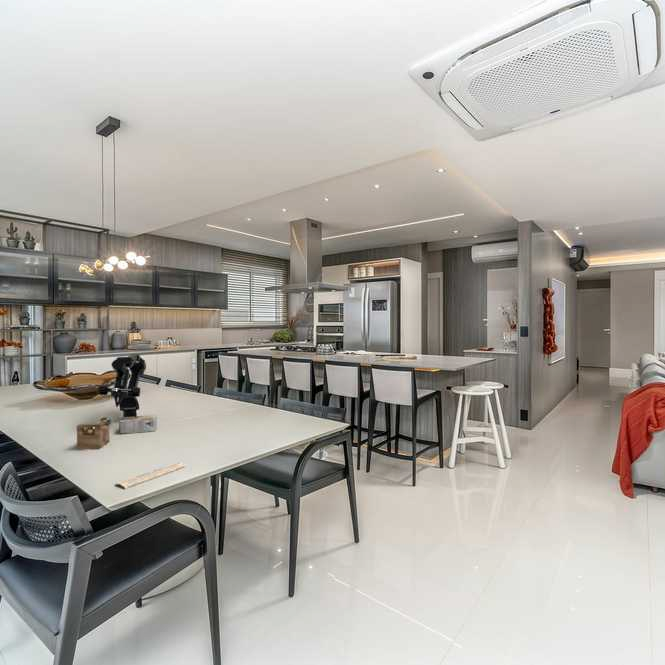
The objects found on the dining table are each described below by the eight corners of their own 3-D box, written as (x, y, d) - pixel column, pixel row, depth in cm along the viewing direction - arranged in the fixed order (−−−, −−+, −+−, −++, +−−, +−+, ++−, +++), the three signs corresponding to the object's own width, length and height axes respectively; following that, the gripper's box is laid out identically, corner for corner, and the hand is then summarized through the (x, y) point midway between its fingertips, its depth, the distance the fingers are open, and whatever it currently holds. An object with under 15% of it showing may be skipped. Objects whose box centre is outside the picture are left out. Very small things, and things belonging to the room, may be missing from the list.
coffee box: (157, 427, 209) (122, 429, 204) (156, 414, 209) (122, 417, 204) (155, 431, 200) (119, 434, 195) (155, 418, 200) (118, 421, 195)
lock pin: (100, 426, 189) (100, 417, 189) (110, 426, 190) (110, 416, 190) (83, 436, 172) (83, 426, 172) (95, 436, 173) (94, 425, 173)
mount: (87, 443, 181) (87, 420, 181) (109, 442, 182) (109, 419, 182) (77, 450, 171) (76, 425, 171) (100, 449, 172) (99, 424, 172)
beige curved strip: (125, 491, 130) (125, 486, 130) (112, 487, 134) (112, 481, 134) (186, 468, 150) (186, 464, 150) (173, 465, 154) (173, 460, 154)
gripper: (141, 386, 218) (137, 414, 210) (102, 384, 212) (96, 412, 203) (142, 376, 210) (137, 404, 201) (101, 374, 203) (94, 402, 195)
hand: (116, 406), depth 200 cm, fingers closed
